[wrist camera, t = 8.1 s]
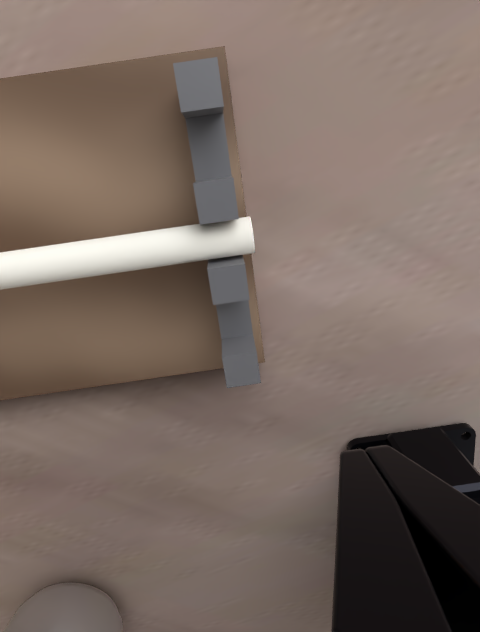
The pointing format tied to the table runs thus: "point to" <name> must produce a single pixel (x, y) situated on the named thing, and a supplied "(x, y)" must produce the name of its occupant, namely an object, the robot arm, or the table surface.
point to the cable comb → (218, 212)
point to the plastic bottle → (67, 611)
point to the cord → (126, 253)
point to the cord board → (105, 226)
